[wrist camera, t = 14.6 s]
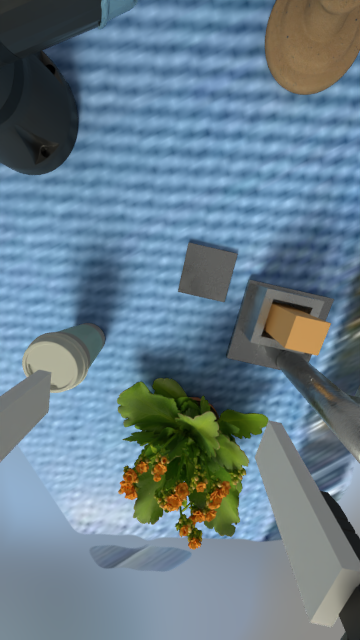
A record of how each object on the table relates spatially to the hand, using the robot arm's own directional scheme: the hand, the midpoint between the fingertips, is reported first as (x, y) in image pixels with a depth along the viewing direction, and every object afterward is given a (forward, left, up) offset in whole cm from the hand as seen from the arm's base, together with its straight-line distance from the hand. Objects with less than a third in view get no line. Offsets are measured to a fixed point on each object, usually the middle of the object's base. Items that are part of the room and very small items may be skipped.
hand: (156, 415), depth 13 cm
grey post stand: (-2, +20, -27) cm, 33 cm away
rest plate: (-8, +3, -27) cm, 28 cm away
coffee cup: (+8, -15, -27) cm, 32 cm away
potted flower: (+20, +8, -27) cm, 34 cm away
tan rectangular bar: (-4, +15, -26) cm, 30 cm away
